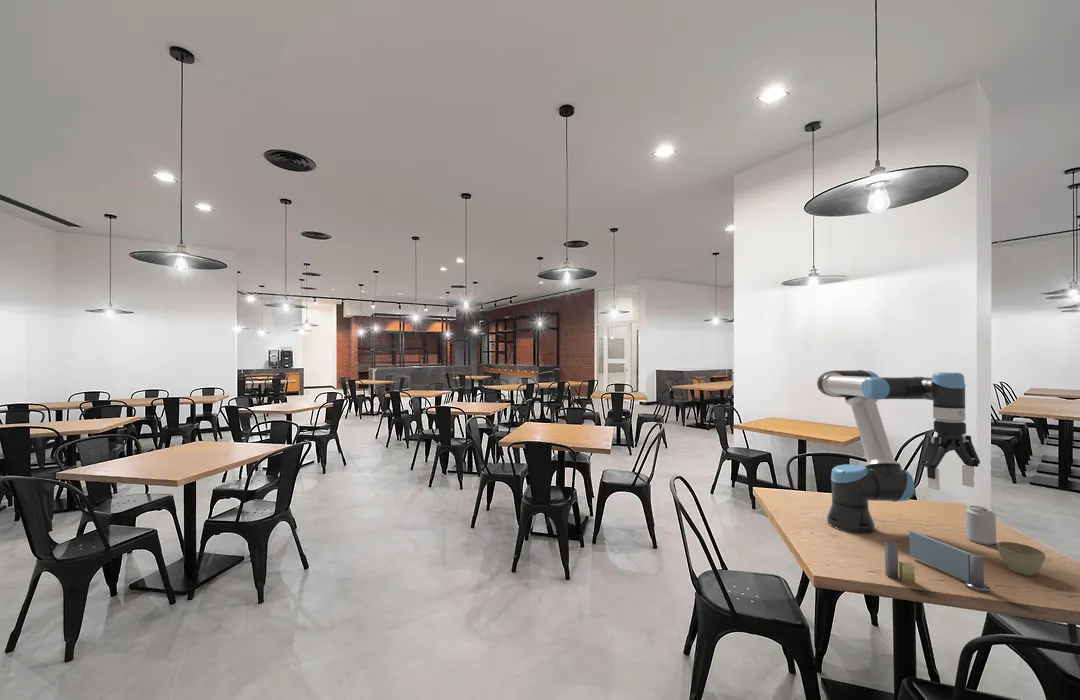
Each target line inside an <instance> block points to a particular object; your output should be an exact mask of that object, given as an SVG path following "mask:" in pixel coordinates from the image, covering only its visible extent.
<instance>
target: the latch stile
mask: <svg viewBox="0 0 1080 700" xmlns="http://www.w3.org/2000/svg"><path fill="white" fill-rule="evenodd" d="M898 546H899V545H898V544H897V543H896V542H895V541H888V540H885V541H884V559H885V562H884V565H885V575H886V576H887V577H888V578H889V579H896V580H900V581H901V582H902V583H907V584H916V574H915V565H914V564H912V563H909V562H902V561H899V552H898V550H899V547H898Z"/></svg>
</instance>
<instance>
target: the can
mask: <svg viewBox="0 0 1080 700" xmlns="http://www.w3.org/2000/svg"><path fill="white" fill-rule="evenodd" d="M993 511H994V510H993V509H991V508H989V507H985V506H981V505H968V506H967V508H966V509H965V526H966V528H965V531H966V532H965V533H966V534H965V535H966V538H968V539H969V540H970V541H971V542H973V543H975V544H976V543H977V544H980V545H984V546H985V545H986V546H993V545H994V544H997V525H996V524H997V520H996V518H997V517H996V514H995V513H994V512H993Z"/></svg>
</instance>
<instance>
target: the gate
mask: <svg viewBox="0 0 1080 700" xmlns="http://www.w3.org/2000/svg"><path fill="white" fill-rule="evenodd" d="M908 532H909V533H908V536H909V557H912V558H913V559H916V560H918V561H920V562H922V563H925V564H928V565H930V566H931V567H934V568H935V569H936V568H937V569H938V570H941V571H943V572H945V573H947V574H950V575H951V576H954V577H956V578H958V579H960V580H962V581H964V582H965V581H968V582H970V583H971V584H972V585H974V586H977V587H984V585H985V571H984V569H985V568H984V566H985V565H984V557H983V556H981V555H978V554H973V553H971V552H968V551H966V550H964V549H960V548H958V547H955V546H953V545H950V544H948V543H946V542H942V541H939V540H937V539H935V538H932V537H930V536H928V535H924V534H922V533H919V532H917V531H914V530H912V531H910V530H909V531H908Z"/></svg>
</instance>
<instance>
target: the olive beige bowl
mask: <svg viewBox="0 0 1080 700" xmlns="http://www.w3.org/2000/svg"><path fill="white" fill-rule="evenodd" d="M996 546H997V550H998V553H999V555H1000V558H1001V559H1002V561H1003V562H1004V564H1005V566H1006V567H1007V568H1008V570H1010V572H1013V573H1015V574H1018V575H1022V576H1023V575H1024V576H1027V577H1028V576H1034V575H1035V574H1037V572H1039V570H1040V569H1041V568H1042V566H1043V564H1044V561H1045V558H1046V553H1045V552H1044V551H1042V550H1041V549H1039V548H1036V547H1033V546H1030V545H1028V544H1024V543H1019V542H1013V541H999V542H996Z"/></svg>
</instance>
